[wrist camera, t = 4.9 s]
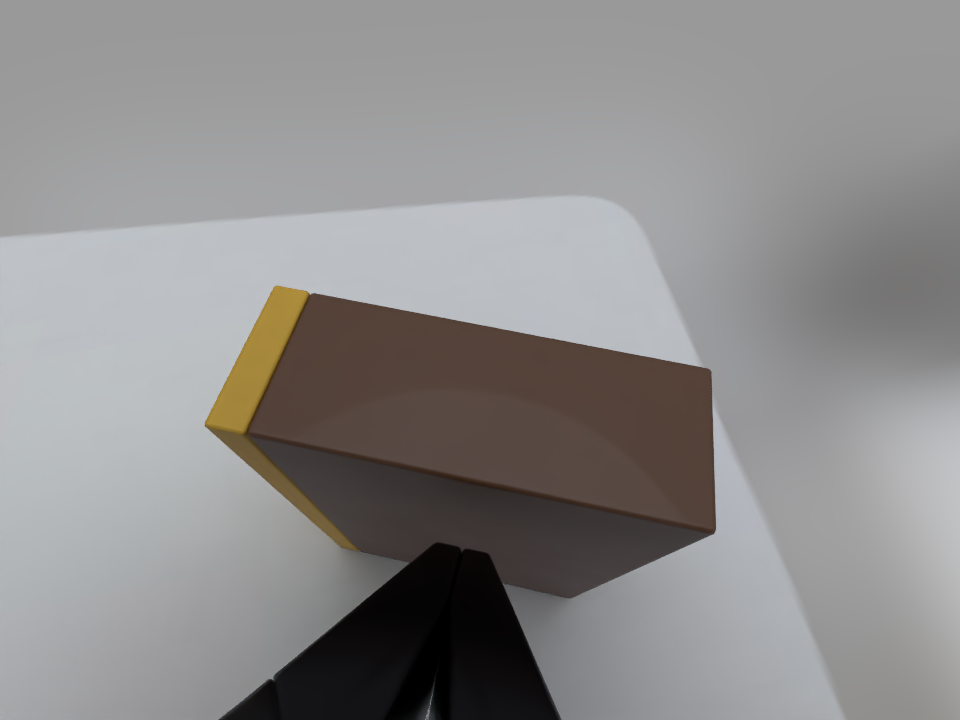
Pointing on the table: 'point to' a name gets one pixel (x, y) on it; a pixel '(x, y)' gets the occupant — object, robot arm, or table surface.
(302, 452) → the book
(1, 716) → the table surface
